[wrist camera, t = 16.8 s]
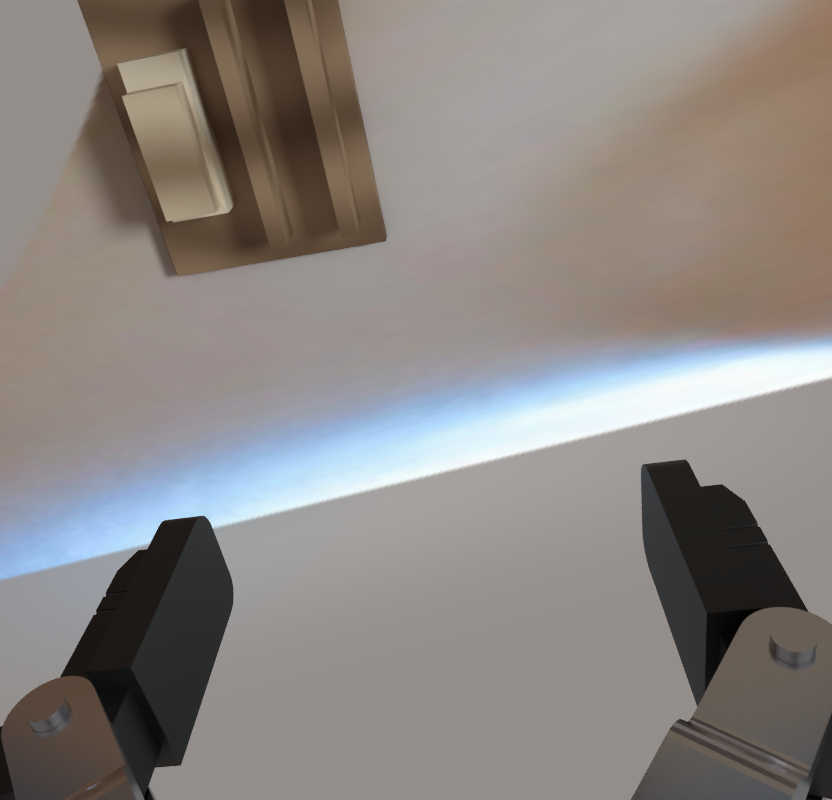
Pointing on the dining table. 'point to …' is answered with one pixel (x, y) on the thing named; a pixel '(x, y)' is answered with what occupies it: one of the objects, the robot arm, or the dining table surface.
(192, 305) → the dining table surface
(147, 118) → the offcut stack
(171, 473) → the dining table surface
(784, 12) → the dining table surface
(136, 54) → the offcut rack
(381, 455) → the dining table surface
